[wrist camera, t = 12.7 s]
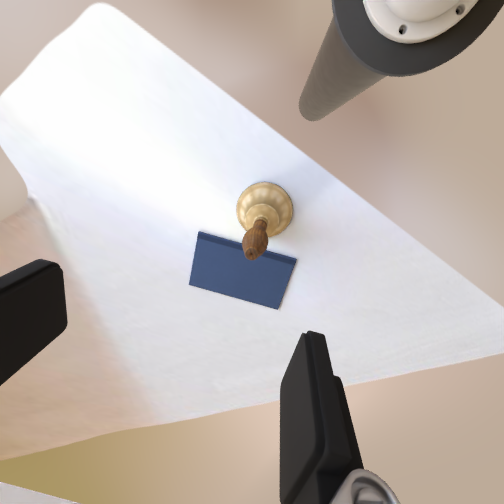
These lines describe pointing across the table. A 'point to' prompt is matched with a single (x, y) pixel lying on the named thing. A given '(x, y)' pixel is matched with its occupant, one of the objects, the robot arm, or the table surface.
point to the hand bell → (262, 216)
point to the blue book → (240, 271)
